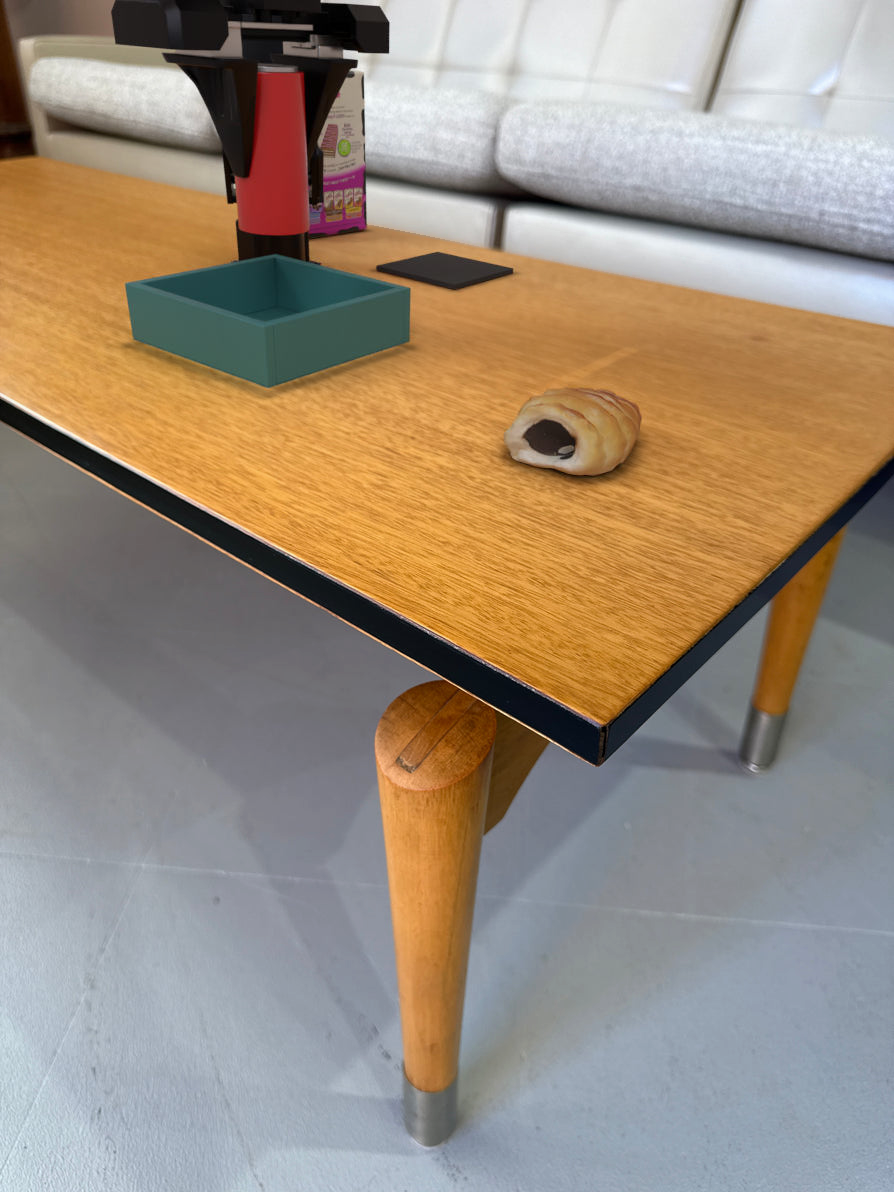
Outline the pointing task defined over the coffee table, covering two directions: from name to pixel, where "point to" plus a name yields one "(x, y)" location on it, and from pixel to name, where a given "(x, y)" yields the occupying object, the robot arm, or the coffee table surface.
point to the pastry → (574, 431)
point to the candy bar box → (343, 164)
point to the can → (277, 157)
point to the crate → (269, 317)
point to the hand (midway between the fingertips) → (271, 174)
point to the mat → (445, 270)
